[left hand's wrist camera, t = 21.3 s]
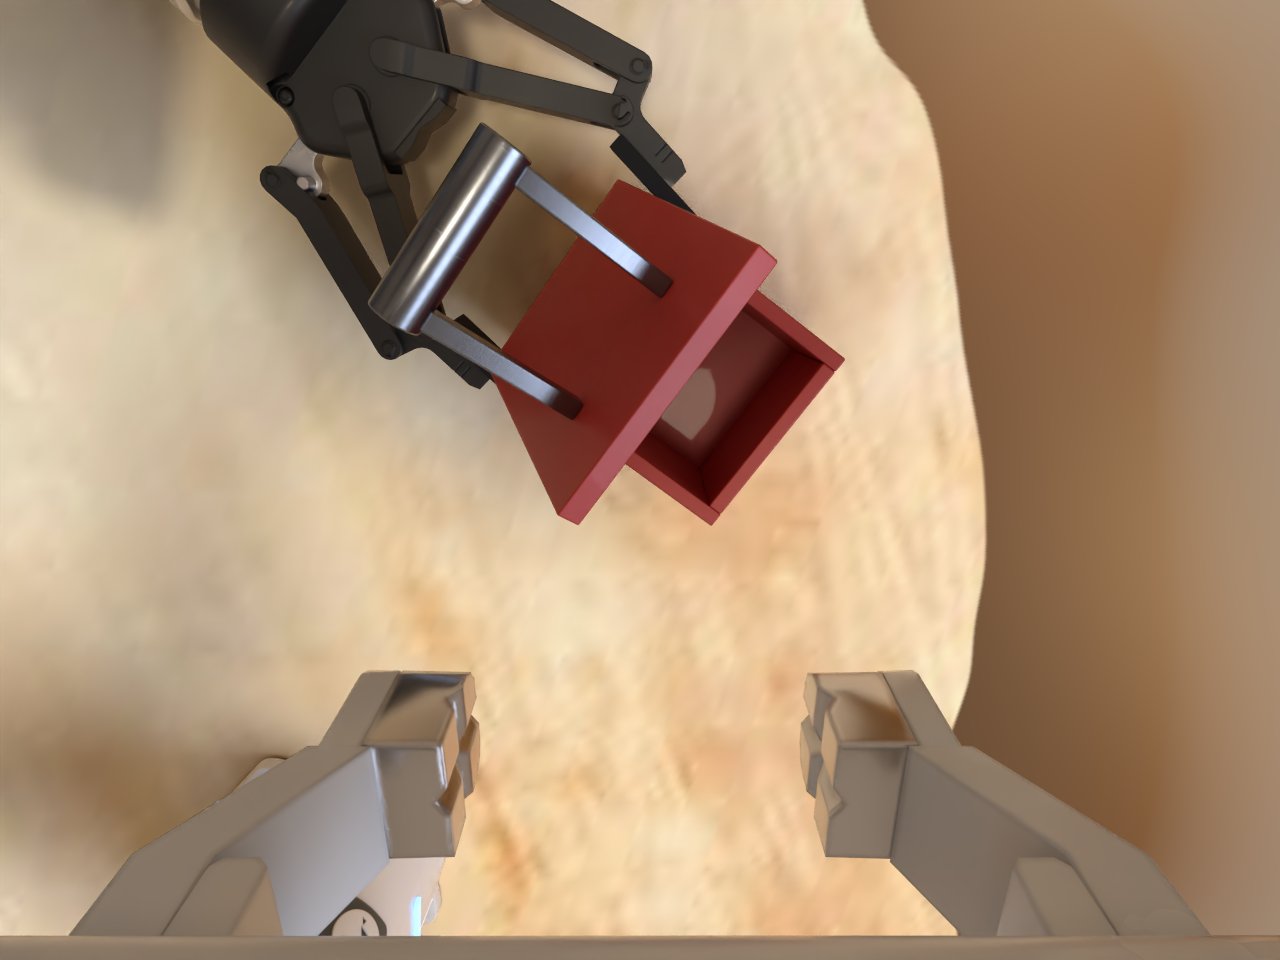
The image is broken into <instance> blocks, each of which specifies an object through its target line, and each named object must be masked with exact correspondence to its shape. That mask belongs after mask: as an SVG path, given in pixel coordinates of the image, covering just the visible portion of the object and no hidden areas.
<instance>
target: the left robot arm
mask: <svg viewBox="0 0 1280 960" xmlns="http://www.w3.org/2000/svg"><path fill="white" fill-rule="evenodd" d="M475 700H476V689H475V681H474V677H473V675H472V674H471V672H441V671H402V672H401V671H366V672H364V673H363V674H361V675H360V677H359V678H358V680H357V682H356V683H355V685H354V687H353V688H352V690H351V692H350V694H349V695H348V697H347V699H346V700H345V702H344V704H343V705H342V707H341V709H340V710H339V712H338V714H337V716H336V717H335V719H334V721H333V722H332V724H331V726H330V727H329V729H328V731H327V733H326V734H325V736H324V738H323V739H322V741H321V743H320V744H319V746H307V747H306V748H304V749H302V750H301V751H299V752H297V753H296V754H294V755H293V756H291V757H289V758H288V759H286V760H284V759H279V758H267V759H264V760H262V761H261V762H260V763H259V764H258V765H257V766H256V767H255V768H254V769H253V770H252V771H251V772H250V773H249V774H248V775H247V777H246V778H245V779H244V780H243V781H242V782H241V783H240V784H239V785H238V786H237V787H236V788H235V790H234V791H233V792H232V793H231V794H229V795H227V796H226V797H224V798H222V799H221V800H219V801H217V802H216V803H214V804H213V805H211V806H209V807H208V808H206V809H205V810H203V811H201V812H200V813H198V814H196V815H195V816H193V817H192V818H190V819H188V820H187V821H185V822H183V823H182V824H180V825H178V826H177V827H175V828H174V829H172V830H170V831H169V832H167V833H165V834H164V835H162V836H161V837H159V838H157V839H156V840H154V841H152V842H151V843H149V844H148V845H146V846H144V847H143V848H141V849H139V850H138V851H136V852H135V853H133V854H132V855H131V856H130V857H129V858H128V860H127V861H126V862H125V864H124V865H123V866H122V867H121V869H120V870H119V871H118V873H117V874H116V875H115V876H114V878H113V879H112V880H111V882H110V883H109V884H108V885H107V887H106V888H105V889H104V891H103V892H102V893H101V894H100V896H99V897H98V898H97V900H96V901H95V902H94V903H93V905H92V906H91V907H90V909H89V910H88V911H87V913H86V914H85V915H84V916H83V918H82V919H81V920H80V922H79V923H78V924H77V925H76V927H75V928H74V929H73V931H72V932H71V933H70V934H69V936H0V960H1280V936H1211V934H1210V933H1209V932H1208V931H1207V929H1206V928H1205V927H1204V925H1203V924H1202V923H1201V921H1200V920H1199V919H1198V918H1197V916H1196V915H1195V914H1194V912H1193V911H1192V910H1191V908H1190V907H1189V906H1188V905H1187V903H1186V902H1185V901H1184V899H1183V898H1182V897H1181V895H1180V894H1179V893H1178V892H1177V890H1176V889H1175V888H1174V887H1173V885H1172V884H1171V883H1170V881H1169V880H1168V879H1167V877H1166V876H1165V875H1164V873H1163V872H1162V871H1161V870H1160V868H1159V867H1158V866H1157V864H1156V863H1155V862H1154V860H1153V859H1152V858H1151V857H1150V855H1148V854H1147V853H1145V852H1143V851H1142V850H1140V849H1138V848H1137V847H1135V846H1133V845H1132V844H1130V843H1129V842H1127V841H1125V840H1124V839H1122V838H1121V837H1119V836H1117V835H1116V834H1114V833H1112V832H1111V831H1109V830H1108V829H1106V828H1104V827H1103V826H1101V825H1099V824H1098V823H1096V822H1095V821H1093V820H1091V819H1090V818H1088V817H1086V816H1085V815H1083V814H1082V813H1080V812H1078V811H1077V810H1075V809H1073V808H1072V807H1070V806H1069V805H1067V804H1065V803H1064V802H1062V801H1060V800H1059V799H1057V798H1056V797H1054V796H1052V795H1051V794H1049V793H1048V792H1046V791H1044V790H1043V789H1041V788H1039V787H1038V786H1036V785H1035V784H1033V783H1031V782H1030V781H1028V780H1026V779H1025V778H1023V777H1022V776H1020V775H1018V774H1017V773H1015V772H1013V771H1012V770H1010V769H1009V768H1007V767H1005V766H1004V765H1002V764H1000V763H999V762H997V761H996V760H994V759H992V758H991V757H989V756H987V755H986V754H984V753H983V752H981V751H979V750H978V749H976V748H974V747H973V746H961V745H960V743H959V741H958V740H957V738H956V736H955V734H954V733H953V731H952V729H951V728H950V726H949V724H948V723H947V721H946V719H945V718H944V716H943V714H942V713H941V711H940V709H939V708H938V706H937V704H936V703H935V701H934V699H933V697H932V696H931V694H930V692H929V691H928V689H927V687H926V686H925V684H924V682H923V681H922V679H921V677H920V676H919V674H918V673H916V672H915V671H913V670H900V671H878V672H845V673H808V674H807V677H806V681H805V688H804V700H805V703H806V707H807V710H808V713H809V715H808V716H807V717H806V718H805V719H804V720H803V722H802V723H801V732H800V760H801V768H802V774H803V779H804V783H805V786H806V790H807V792H808V793H809V794H810V795H811V796H813V797H814V798H815V799H816V801H815V811H814V819H815V822H816V826H817V829H818V833H819V836H820V840H821V843H822V846H823V850H824V853H825V857H847V858H882V859H890V862H891V863H892V864H893V865H894V866H895V867H896V868H897V869H898V870H899V871H900V872H901V873H902V874H903V875H904V876H905V878H906V879H907V880H908V881H909V882H910V883H911V884H912V885H913V886H914V887H915V888H916V889H917V890H918V891H919V892H920V893H921V894H922V895H923V896H924V897H925V898H926V899H927V900H928V901H929V902H930V903H931V904H932V905H933V906H934V907H935V908H936V909H937V910H938V911H939V912H940V913H941V914H942V915H943V916H944V917H945V918H946V919H947V920H948V921H949V922H950V923H951V924H952V925H953V926H954V927H955V929H956V930H957V931H958V932H959V933H960V934H961V935H962V936H420V930H421V928H422V925H425V924H427V923H430V922H432V921H433V920H434V919H435V918H436V916H437V914H438V911H439V909H440V906H441V896H440V890H439V886H438V879H439V875H440V873H441V870H442V867H443V865H444V861H445V857H455V854H456V850H457V847H458V843H459V840H460V836H461V833H462V829H463V826H464V822H465V819H466V811H465V801H464V799H465V798H466V797H467V796H469V795H470V794H471V793H472V792H473V790H474V786H475V782H476V779H477V774H478V766H479V758H480V730H479V723H478V722H477V720H476V719H475V718H474V717H473V716H472V715H471V713H472V710H473V707H474V704H475Z"/></svg>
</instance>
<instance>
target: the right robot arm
mask: <svg viewBox="0 0 1280 960" xmlns="http://www.w3.org/2000/svg"><path fill="white" fill-rule="evenodd" d="M169 1H170V2H171V3H172V4H173V5H174V6H175V7H176V8H177V9H178V10H179V11H180V12H181V13H183V14H184V15H185V16H186V17H187V18H188V19H190V20H192V21H193V22H195V23H197V24H202V25H203V28H204V31H205V32H206V34H207V36H208V37H209V38H210V40H211V41H212V42H213V43H214V44H216V45H217V46H218V47H219V48H220V49H221V50H222V51H223V52H224V53H225V54H226V55H227V56H228V57H229V58H230V59H231V60H232V61H233V62H234V63H235V64H236V65H238V66H239V67H240V68H241V69H242V70H243V71H244V72H245V73H246V74H247V75H248V76H249V77H250V78H251V79H252V80H253V81H254V82H255V83H256V84H257V85H258V86H260V87H261V88H262V89H263V90H264V91H265V92H266V93H267V94H268V95H269V96H270V97H271V98H272V99H273V100H274V101H275V102H276V103H277V104H279V105H280V106H281V107H282V108H283V109H284V111H285V112H286V113H287V114H288V116H289V117H290V119H291V121H292V123H293V125H294V127H295V130H296V132H297V135H298V137H299V138H298V140H297V141H296V142H295V144H294V145H293V146H292V148H291V149H290V150H289V152H288V153H287V154H286V156H285V157H284V158H283V160H282V161H281V162H280V164H279V165H278V166H266V167H265V168H264V169H263V170H262V171H261V174H260V181H261V184H262V186H263V187H264V189H265V190H266V191H267V192H268V193H269V194H270V195H272V196H273V197H274V198H275V199H276V200H277V201H278V202H279V203H281V204H282V205H283V206H284V207H285V208H286V209H287V210H288V211H289V212H291V213H292V214H293V215H294V216H295V217H296V218H297V219H298V221H299V223H300V224H301V226H302V228H303V229H304V231H305V233H306V234H307V236H308V238H309V239H310V241H311V242H312V244H313V246H314V247H315V249H316V251H317V252H318V254H319V256H320V257H321V259H322V261H323V262H324V264H325V266H326V267H327V269H328V271H329V272H330V274H331V275H332V277H333V279H334V280H335V282H336V284H337V285H338V287H339V289H340V290H341V292H342V294H343V295H344V297H345V299H346V300H347V302H348V303H349V305H350V307H351V308H352V310H353V312H354V313H355V315H356V317H357V318H358V320H359V322H360V323H361V325H362V327H363V328H364V330H365V331H366V333H367V335H368V336H369V338H370V340H371V341H372V343H373V345H374V346H375V348H376V350H377V351H378V353H379V354H380V355H381V356H382V357H383V358H385V359H388V360H393V359H396V358H398V357H399V356H401V355H403V354H405V353H407V352H409V351H412V350H414V349H416V348H421V347H423V348H427V349H430V350H431V351H433V352H434V353H435V354H436V355H437V356H438V357H439V358H441V359H442V360H443V361H444V362H445V363H446V364H447V365H448V366H449V367H450V368H451V369H453V370H454V371H455V372H456V373H457V374H458V375H459V376H461V378H462V379H464V380H465V381H466V382H467V383H468V384H469V385H471V386H473V387H476V388H478V389H481V388H482V386H483V385H484V384H485V383H486V382H487V381H488V380H489V379H491V380H492V381H493V382H494V383H495V381H494V379H493V377H492V375H491V373H490V372H489V371H487V370H485V369H484V368H482V367H480V366H478V365H477V364H475V363H473V362H472V361H470V360H468V359H467V358H465V357H463V356H461V355H460V354H458V353H456V352H455V351H453V350H451V349H450V348H448V347H446V346H444V345H443V344H441V343H439V342H438V341H436V340H434V339H433V338H431V337H429V336H427V335H426V334H424V333H422V332H421V333H420V334H419V335H412V334H409V333H406V332H404V331H402V330H400V329H398V328H396V327H395V326H393V325H391V324H390V323H388V322H387V321H385V320H384V319H383V318H381V317H380V316H379V315H378V314H376V313H375V312H374V311H373V310H372V309H371V307H370V306H369V304H368V301H369V299H370V297H371V296H372V294H373V293H374V291H375V289H376V288H377V286H378V285H379V283H380V281H381V280H382V278H381V277H380V275H379V273H378V271H377V270H376V268H375V266H374V265H373V263H372V261H371V259H370V258H369V256H368V254H367V253H366V251H365V249H364V247H363V246H362V244H361V242H360V241H359V239H358V237H357V235H356V234H355V232H354V230H353V229H352V227H351V225H350V223H349V222H348V220H347V218H346V217H345V215H344V213H343V212H342V210H341V209H340V207H339V206H338V205H337V203H336V202H335V201H334V200H333V198H332V197H331V196H330V195H329V194H328V192H329V190H330V181H329V179H328V177H327V176H326V174H325V173H324V171H323V168H322V160H323V157H324V156H325V155H328V156H334V157H339V158H345V159H351V160H352V161H353V164H354V167H355V171H356V174H357V177H358V180H359V183H360V186H361V189H362V191H363V193H364V195H365V196H366V197H367V198H368V200H369V202H370V205H371V208H372V212H373V215H374V218H375V221H376V224H377V227H378V230H379V234H380V237H381V240H382V243H383V246H384V249H385V252H386V255H387V259H388V262H389V265H390V266H391V264H392V262H393V261H394V259H395V258H396V256H397V254H398V253H399V251H400V250H401V248H402V246H403V245H404V243H405V242H406V240H407V238H408V237H409V235H410V234H411V232H412V231H413V229H414V227H415V226H416V224H417V223H418V220H417V217H416V214H415V210H414V207H413V204H412V200H411V197H410V184H409V180H408V177H407V173H406V170H405V167H404V164H406V163H408V162H409V161H415V160H416V159H417V158H418V156H419V155H420V154H421V153H422V152H423V150H424V149H425V147H426V145H427V142H428V140H429V138H430V135H431V133H432V132H433V131H435V130H436V129H438V128H439V127H441V126H442V125H444V124H445V123H446V122H447V121H448V120H449V119H450V118H451V116H452V115H453V114H454V113H455V112H456V109H455V108H454V107H455V104H456V101H457V96H458V94H461V95H465V96H470V97H474V98H478V99H483V100H490V101H494V102H498V103H503V104H507V105H511V106H515V107H519V108H524V109H528V110H532V111H536V112H541V113H545V114H549V115H553V116H557V117H562V118H566V119H570V120H574V121H579V122H583V123H587V124H591V125H595V126H600V127H604V128H608V129H612V130H616V131H617V133H618V134H619V135H620V136H619V137H618V138H617V139H616V140H615V141H614V142H613V143H612V145H611V146H610V148H611V149H612V151H613V152H614V153H615V154H616V155H617V156H618V157H619V158H620V159H621V160H622V162H623V163H624V164H625V165H626V166H627V167H628V168H629V169H630V170H631V171H632V172H633V173H634V174H635V176H636V177H637V178H638V179H639V180H640V181H641V182H642V183H643V184H644V185H645V186H646V187H647V189H648V190H649V191H650V192H651V193H652V194H653V195H654V196H656V197H658V198H660V199H662V200H664V201H666V202H669V203H671V204H673V205H675V206H677V207H679V208H681V209H684V210H686V211H688V212H690V213H692V214H694V215H696V214H695V213H694V212H693V211H692V210H691V209H690V208H689V207H688V205H687V204H686V203H685V202H684V201H683V200H682V199H681V198H680V197H679V196H678V194H677V193H676V192H675V191H674V190H673V189H672V188H671V187H672V186H673V185H674V184H675V183H676V182H677V181H678V180H679V179H680V178H681V177H682V176H683V175H684V174H685V173H686V170H685V168H684V165H683V162H682V160H681V159H680V158H679V157H678V155H677V154H676V153H675V152H674V151H673V150H672V149H671V148H670V146H669V145H668V144H667V143H666V142H665V141H664V140H663V139H662V138H661V136H660V135H659V134H658V133H657V132H656V131H655V130H654V129H653V128H652V126H651V125H650V124H649V123H648V122H647V121H646V120H645V118H644V117H643V115H642V113H641V109H640V105H641V102H642V99H643V97H644V94H645V92H646V89H647V87H648V85H649V83H650V81H651V77H652V61H651V59H650V57H649V56H648V55H647V54H646V53H645V52H643V51H641V50H640V49H638V48H636V47H634V46H632V45H630V44H629V43H627V42H625V41H623V40H621V39H620V38H618V37H616V36H614V35H612V34H611V33H609V32H607V31H605V30H603V29H602V28H600V27H598V26H596V25H594V24H593V23H591V22H589V21H587V20H585V19H583V18H582V17H580V16H578V15H576V14H574V13H573V12H571V11H569V10H567V9H565V8H564V7H562V6H560V5H558V4H556V3H555V2H553V1H551V0H169ZM481 1H482V2H483V3H484V4H485V5H486V6H487V7H488V8H490V9H491V10H492V11H493V12H495V13H496V14H498V15H499V16H501V17H503V18H504V19H506V20H508V21H510V22H512V23H513V24H515V25H517V26H519V27H521V28H523V29H524V30H526V31H528V32H530V33H532V34H534V35H535V36H537V37H539V38H541V39H543V40H545V41H546V42H548V43H550V44H552V45H554V46H556V47H558V48H559V49H561V50H563V51H565V52H567V53H569V54H570V55H572V56H574V57H576V58H578V59H580V60H581V61H583V62H585V63H587V64H589V65H591V66H592V67H594V68H596V69H598V70H600V71H602V72H604V73H605V74H607V75H609V76H611V77H613V78H615V79H616V80H618V82H617V84H616V87H615V89H614V92H613V94H610V93H606V92H602V91H598V90H593V89H589V88H585V87H581V86H577V85H573V84H568V83H564V82H560V81H556V80H552V79H548V78H543V77H539V76H535V75H531V74H527V73H523V72H518V71H514V70H510V69H506V68H502V67H498V66H493V65H489V64H485V63H481V62H478V61H476V60H473V59H470V58H466V57H462V56H458V55H454V54H450V49H449V45H448V40H447V36H446V31H445V26H444V22H443V17H442V13H441V10H440V8H441V7H442V6H443V5H444V4H446V3H449V2H453V3H456V4H458V5H460V6H461V7H463V8H465V9H473V8H475V7H476V6H478V5H479V3H480V2H481ZM696 216H697V215H696ZM436 310H438V311H439V312H441V313H442V314H444V315H446V314H445V310H444V307H443V304H442V301H441V302H440V304H439V305H438V307H437V308H436ZM454 321H455V322H457V323H459V324H460V325H462V326H464V327H465V328H467V329H468V330H470V331H472V332H473V333H475V334H477V335H478V336H480V337H481V338H483V339H485V340H486V341H488V342H490V343H491V344H493V345H494V346H496V347H498V346H497V345H496V344H495V343H494V342H493V341H492V340H491V339H490V338H489V337H488V336H487V335H486V334H485V333H483V332H482V331H481V330H480V329H479V328H478V327H477V326H476V325H475V324H474V323H473V322H472V321H471V320H470V319H469V318H468V317H466V316H465V315H464V314H462V315H461V316H459V317H458V318H456V319H455V320H454ZM498 348H499V347H498ZM499 349H500V348H499ZM495 384H496V383H495Z"/></svg>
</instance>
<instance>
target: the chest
mask: <svg viewBox="0 0 1280 960" xmlns="http://www.w3.org/2000/svg"><path fill="white" fill-rule="evenodd" d="M844 360H845V359H844V358H843V357H842V356H841V355H840V354H838V353H837V352H836V351H834V350H833V349H832V348H831V347H829V346H828V345H827V344H826V343H824V342H823V341H822V340H820V339H819V338H818V337H817V336H815V335H814V334H813V333H812V332H810V331H809V330H808V329H806V328H805V327H804V326H803V325H801V324H800V323H799V322H798V321H796V320H795V319H794V318H792V317H791V316H790V315H789V314H787V313H786V312H785V311H784V310H782V309H781V308H780V307H778V306H777V305H776V304H775V303H773V302H772V301H771V300H770V299H768V298H767V297H766V296H764V295H763V294H762V293H761V292H759V291H758V290H756V292H755V293H754V294H753V296H752V297H751V298H750V299H749V301H748V302H747V303H746V305H745V306H744V307H743V309H742V310H741V311H740V313H739V314H738V315H737V317H736V318H735V319H734V321H733V322H732V323H731V325H730V326H729V327H728V329H727V330H726V331H725V333H724V334H723V335H722V336H721V338H720V339H719V340H718V342H717V343H716V344H715V346H714V347H713V348H712V350H711V351H710V352H709V354H708V355H707V356H706V358H705V359H704V360H703V362H702V363H701V364H700V366H699V367H698V368H697V369H696V371H695V372H694V373H693V375H692V376H691V377H690V379H689V380H688V381H687V383H686V384H685V385H684V387H683V388H682V389H681V391H680V392H679V393H678V395H677V396H676V397H675V399H674V400H673V401H672V403H671V404H670V405H669V406H668V408H667V409H666V410H665V412H664V413H663V414H662V416H661V417H660V418H659V420H658V421H657V422H656V424H655V425H654V426H653V428H652V429H651V430H650V432H649V433H648V434H647V436H646V437H645V438H644V440H643V441H642V442H641V443H640V445H639V446H638V447H637V449H636V450H635V451H634V453H633V454H632V455H631V457H630V458H629V459H628V461H627V462H626V463H625V464H626V465H628V466H629V467H630V468H632V469H633V470H635V471H636V472H637V473H639V474H640V475H642V476H643V477H644V478H646V479H647V480H648V481H650V482H651V483H653V484H654V485H655V486H657V487H658V488H659V489H661V490H662V491H664V492H665V493H666V494H668V495H669V496H671V497H672V498H673V499H675V500H676V501H677V502H679V503H680V504H682V505H683V506H684V507H686V508H687V509H689V510H690V511H691V512H693V513H694V514H695V515H697V516H698V517H700V518H701V519H702V520H704V521H705V522H707V523H708V524H709V525H711V526H712V525H713V523H714V522H715V521H716V520H717V518H718V517H719V516H720V514H721V513H722V512H723V511H724V509H725V508H726V507H727V506H728V504H729V503H730V502H731V501H732V500H733V498H734V497H735V496H736V495H737V493H738V492H739V491H740V490H741V488H742V487H743V486H744V485H745V483H746V482H747V481H748V480H749V478H750V477H751V476H752V475H753V473H754V472H755V471H756V470H757V469H758V467H759V466H760V465H761V464H762V462H763V461H764V460H765V459H766V457H767V456H768V455H769V454H770V452H771V451H772V450H773V449H774V447H775V446H776V445H777V444H778V442H779V441H780V440H781V439H782V437H783V436H784V435H785V434H786V433H787V431H788V430H789V429H790V428H791V426H792V425H793V424H794V423H795V421H796V420H797V419H798V418H799V416H800V415H801V414H802V413H803V411H804V410H805V409H806V408H807V406H808V405H809V404H810V403H811V401H812V400H813V399H814V398H815V397H816V395H817V394H818V393H819V392H820V390H821V389H822V388H823V387H824V385H825V384H826V383H827V382H828V380H829V379H830V378H831V377H832V375H833V374H834V371H836V370H837V369H838V368H839V367H840V366H841V364H842V363H843V362H844Z"/></svg>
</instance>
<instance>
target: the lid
mask: <svg viewBox="0 0 1280 960" xmlns="http://www.w3.org/2000/svg"><path fill="white" fill-rule="evenodd" d="M530 165H531V160H530V159H529V158H528V157H526V156H525V155H524V154H523V153H522V152H521V151H519V150H518V149H517V148H516V147H514V146H513V145H512V144H511V143H509V142H508V141H507V140H506V139H504V138H503V137H502V136H500V135H499V134H498V133H497V132H495V131H494V130H493V129H491V128H490V127H488V126H487V125H486V124H484V123H480V124H479V126H478V127H477V129H476V130H475V132H474V133H473V135H472V137H471V138H470V140H469V141H468V143H467V145H466V146H465V148H464V149H463V151H462V153H461V154H460V156H459V157H458V159H457V161H456V162H455V164H454V165H453V167H452V168H451V170H450V172H449V173H448V175H447V176H446V178H445V180H444V181H443V183H442V184H441V186H440V188H439V189H438V191H437V192H436V194H435V196H434V197H433V199H432V200H431V202H430V203H429V205H428V207H427V208H426V210H425V211H424V213H423V215H422V216H421V218H420V219H419V221H418V223H417V224H416V226H415V227H414V229H413V231H412V232H411V234H410V235H409V237H408V238H407V240H406V242H405V243H404V245H403V246H402V248H401V250H400V251H399V253H398V254H397V256H396V258H395V259H394V261H393V262H392V264H391V266H390V267H389V269H388V270H387V272H386V273H385V275H384V277H383V278H382V280H381V281H380V283H379V285H378V286H377V288H376V289H375V291H374V293H373V294H372V296H371V297H370V299H369V301H368V304H369V306H370V307H371V309H372V310H373V311H374V312H375V313H376V314H378V315H379V316H380V317H381V318H383V319H384V320H385V321H387V322H388V323H390V324H391V325H393V326H395V327H396V328H398V329H400V330H402V331H404V332H406V333H409V334H412V335H419V334H420V333H421V332H422V333H424V334H426V335H427V336H429V337H431V338H433V339H434V340H436V341H438V342H439V343H441V344H443V345H444V346H446V347H448V348H450V349H451V350H453V351H455V352H456V353H458V354H460V355H461V356H463V357H465V358H467V359H468V360H470V361H472V362H473V363H475V364H477V365H478V366H480V367H482V368H484V369H485V370H487V371H489V372H490V373H491V375H492V377H493V379H494V381H495V383H496V385H497V387H498V390H499V392H500V394H501V396H502V398H503V400H504V402H505V404H506V407H507V409H508V411H509V413H510V415H511V417H512V419H513V421H514V424H515V426H516V428H517V430H518V432H519V434H520V436H521V438H522V440H523V443H524V445H525V447H526V449H527V451H528V453H529V455H530V457H531V460H532V462H533V464H534V466H535V468H536V470H537V472H538V474H539V477H540V479H541V481H542V483H543V485H544V487H545V489H546V491H547V494H548V496H549V498H550V500H551V502H552V504H553V506H554V508H555V510H556V513H557V515H558V516H560V517H563V518H565V519H567V520H569V521H571V522H573V523H575V524H577V525H579V524H580V523H581V521H582V520H583V519H584V517H585V516H586V515H587V513H588V512H589V511H590V510H591V508H592V507H593V506H594V504H595V503H596V502H597V500H598V499H599V498H600V496H601V495H602V494H603V492H604V491H605V490H606V488H607V487H608V486H609V484H610V483H611V482H612V480H613V479H614V478H615V477H616V475H617V474H618V473H619V471H620V470H621V469H622V467H623V466H624V465H625V463H626V462H627V461H628V459H629V458H630V457H631V455H632V454H633V453H634V451H635V450H636V449H637V447H638V446H639V445H640V443H641V442H642V441H643V440H644V438H645V437H646V436H647V434H648V433H649V432H650V430H651V429H652V428H653V426H654V425H655V424H656V422H657V421H658V420H659V418H660V417H661V416H662V414H663V413H664V412H665V410H666V409H667V408H668V406H669V405H670V404H671V403H672V401H673V400H674V399H675V397H676V396H677V395H678V393H679V392H680V391H681V389H682V388H683V387H684V385H685V384H686V383H687V381H688V380H689V379H690V377H691V376H692V375H693V373H694V372H695V371H696V369H697V368H698V367H699V366H700V364H701V363H702V362H703V360H704V359H705V358H706V356H707V355H708V354H709V352H710V351H711V350H712V348H713V347H714V346H715V344H716V343H717V342H718V340H719V339H720V338H721V336H722V335H723V334H724V333H725V331H726V330H727V329H728V327H729V326H730V325H731V323H732V322H733V321H734V319H735V318H736V317H737V315H738V314H739V313H740V311H741V310H742V309H743V307H744V306H745V305H746V303H747V302H748V301H749V299H750V298H751V297H752V296H753V294H754V293H755V292H756V290H757V289H758V288H759V286H760V285H761V284H762V282H763V281H764V280H765V278H766V277H767V276H768V274H769V273H770V272H771V270H772V269H773V268H774V266H775V265H776V264H777V260H776V259H775V258H774V257H773V256H771V255H770V254H769V253H768V252H767V251H766V250H765V249H764V248H763V247H762V246H760V245H759V244H757V243H754V242H752V241H750V240H748V239H746V238H744V237H742V236H739V235H737V234H735V233H733V232H731V231H729V230H727V229H724V228H722V227H720V226H718V225H716V224H714V223H712V222H709V221H707V220H705V219H703V218H701V217H699V216H696V215H694V214H692V213H690V212H688V211H686V210H684V209H681V208H679V207H677V206H675V205H673V204H671V203H669V202H666V201H664V200H662V199H660V198H658V197H656V196H653V195H651V194H649V193H647V192H645V191H643V190H641V189H638V188H636V187H634V186H632V185H630V184H628V183H626V182H623V181H621V180H619V179H618V180H617V181H616V183H615V184H614V186H613V187H612V189H611V190H610V192H609V193H608V195H607V196H606V197H605V199H604V200H603V202H602V203H601V205H600V206H599V208H598V209H597V211H596V212H595V214H594V215H593V216H591V215H590V214H589V213H588V212H586V211H585V210H584V209H583V208H581V207H580V206H579V205H578V204H576V203H575V202H574V201H572V200H571V199H570V198H569V197H567V196H566V195H565V194H564V193H562V192H561V191H560V190H559V189H557V188H556V187H555V186H554V185H552V184H551V183H550V182H549V181H547V180H546V179H545V178H543V177H542V176H541V175H540V174H538V173H537V172H536V171H535V170H533V169H532V168H531V167H530ZM515 188H517V189H518V190H519V191H520V192H522V193H523V194H524V195H526V196H527V197H528V198H530V199H531V200H532V201H534V202H535V203H536V204H537V205H539V206H540V207H541V208H543V209H544V210H545V211H547V212H548V213H549V214H551V215H552V216H553V217H554V218H556V219H557V220H558V221H560V222H561V223H562V224H564V225H565V226H566V227H568V228H569V229H570V230H572V231H573V232H574V233H575V234H577V235H578V236H579V237H578V238H577V240H576V241H575V243H574V244H573V246H572V247H571V249H570V250H569V252H568V253H567V254H566V256H565V257H564V259H563V260H562V262H561V263H560V265H559V266H558V268H557V269H556V271H555V272H554V273H553V275H552V276H551V278H550V279H549V281H548V282H547V284H546V285H545V287H544V288H543V289H542V291H541V292H540V294H539V295H538V297H537V298H536V300H535V301H534V303H533V304H532V306H531V307H530V308H529V310H528V311H527V313H526V314H525V316H524V317H523V319H522V320H521V322H520V323H519V325H518V326H517V327H516V329H515V330H514V332H513V333H512V335H511V336H510V338H509V339H508V341H507V342H506V344H505V345H504V346H503V348H502V349H499V348H498V347H496V346H494V345H493V344H491V343H490V342H488V341H486V340H485V339H483V338H481V337H480V336H478V335H477V334H475V333H473V332H472V331H470V330H468V329H467V328H465V327H464V326H462V325H460V324H459V323H457V322H455V321H454V320H452V319H451V318H449V317H447V316H446V315H444V314H442V313H441V312H439V311H438V310H436V308H437V307H438V305H439V304H440V302H441V301H442V299H443V298H444V296H445V295H446V293H447V292H448V290H449V289H450V287H451V285H452V284H453V282H454V281H455V279H456V278H457V276H458V275H459V273H460V272H461V270H462V269H463V267H464V266H465V264H466V263H467V261H468V259H469V258H470V256H471V255H472V253H473V252H474V250H475V249H476V247H477V246H478V244H479V243H480V241H481V240H482V238H483V236H484V235H485V233H486V232H487V230H488V229H489V227H490V226H491V224H492V223H493V221H494V220H495V218H496V217H497V215H498V214H499V212H500V210H501V209H502V207H503V206H504V204H505V203H506V201H507V200H508V198H509V197H510V195H511V194H512V192H513V191H514V189H515Z"/></svg>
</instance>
